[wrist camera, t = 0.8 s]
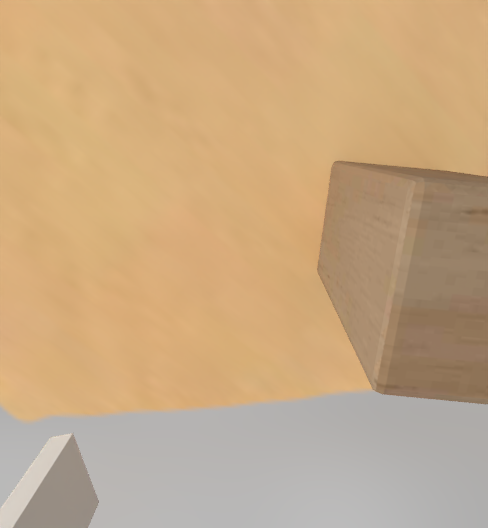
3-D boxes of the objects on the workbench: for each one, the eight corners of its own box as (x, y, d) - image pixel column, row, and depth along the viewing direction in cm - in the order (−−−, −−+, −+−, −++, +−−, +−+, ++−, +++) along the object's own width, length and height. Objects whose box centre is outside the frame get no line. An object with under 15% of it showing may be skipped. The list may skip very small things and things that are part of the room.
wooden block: (426, 284, 39) (589, 418, 20) (315, 273, 39) (371, 397, 20) (450, 171, 37) (665, 200, 17) (331, 160, 37) (414, 177, 17)
